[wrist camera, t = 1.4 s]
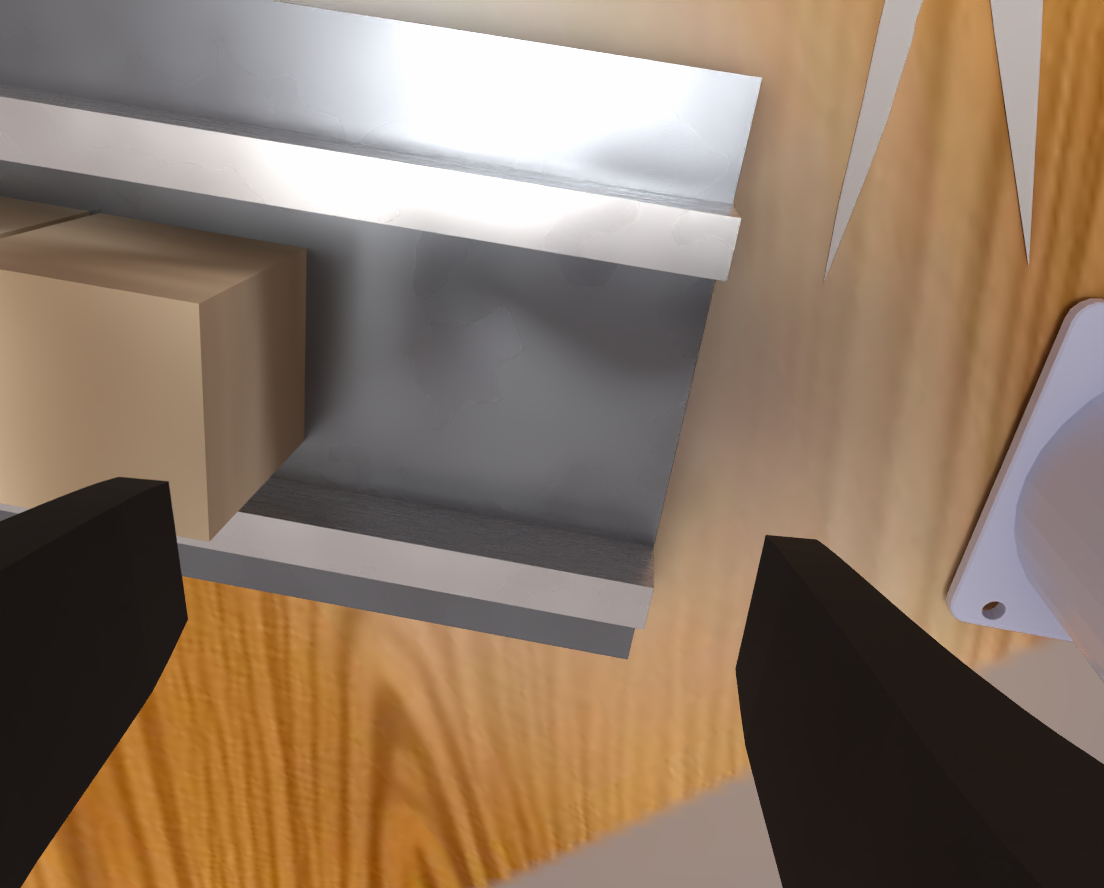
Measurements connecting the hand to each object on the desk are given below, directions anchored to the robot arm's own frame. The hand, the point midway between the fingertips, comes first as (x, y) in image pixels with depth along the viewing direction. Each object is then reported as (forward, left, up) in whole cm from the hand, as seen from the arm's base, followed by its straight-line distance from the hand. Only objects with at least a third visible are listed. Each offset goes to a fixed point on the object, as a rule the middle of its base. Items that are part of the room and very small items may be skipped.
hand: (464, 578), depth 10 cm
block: (+7, 0, -7) cm, 9 cm away
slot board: (+5, 0, -10) cm, 11 cm away
